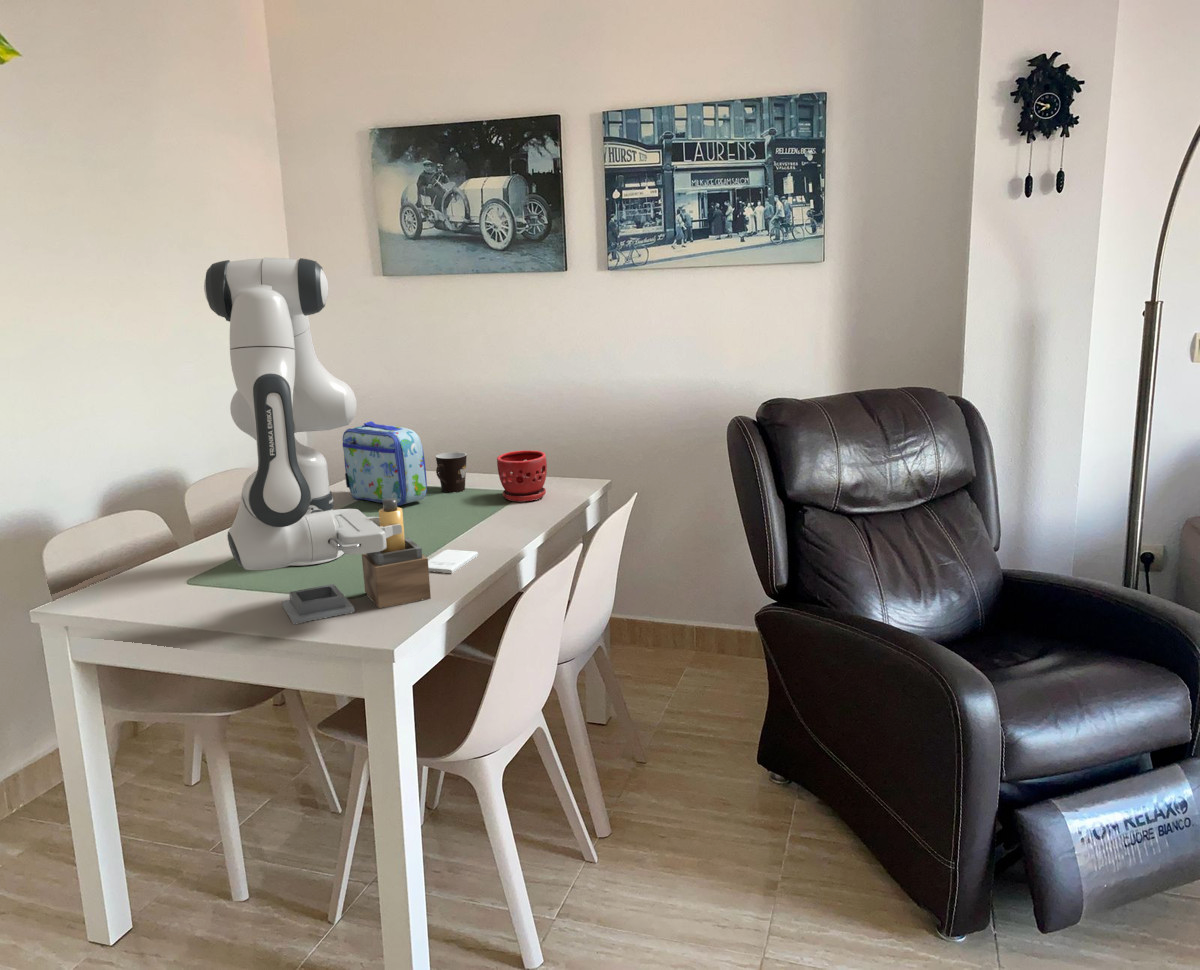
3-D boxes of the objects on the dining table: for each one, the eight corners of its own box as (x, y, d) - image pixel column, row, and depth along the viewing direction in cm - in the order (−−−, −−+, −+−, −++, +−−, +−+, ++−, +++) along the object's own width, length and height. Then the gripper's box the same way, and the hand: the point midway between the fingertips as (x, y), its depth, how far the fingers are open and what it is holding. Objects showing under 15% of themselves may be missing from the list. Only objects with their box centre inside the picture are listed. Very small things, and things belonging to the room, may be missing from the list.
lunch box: (341, 497, 267) (334, 423, 262) (373, 490, 275) (367, 417, 270) (399, 511, 250) (392, 432, 245) (432, 503, 258) (426, 425, 253)
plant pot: (502, 493, 267) (500, 450, 264) (550, 492, 266) (548, 449, 263) (496, 505, 254) (493, 460, 251) (545, 504, 253) (543, 459, 250)
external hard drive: (478, 558, 211) (452, 576, 199) (445, 556, 213) (417, 573, 202) (478, 551, 210) (451, 569, 199) (444, 549, 213) (416, 566, 202)
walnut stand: (365, 593, 189) (360, 544, 187) (414, 583, 194) (410, 536, 191) (379, 608, 181) (374, 557, 178) (430, 598, 185) (426, 548, 183)
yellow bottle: (379, 554, 186) (375, 499, 184) (401, 550, 188) (397, 495, 186) (386, 560, 183) (381, 504, 180) (408, 556, 185) (404, 500, 182)
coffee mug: (457, 485, 278) (455, 450, 275) (474, 489, 271) (472, 454, 269) (422, 492, 270) (420, 457, 268) (440, 497, 264) (437, 461, 262)
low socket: (282, 606, 183) (280, 591, 183) (340, 595, 188) (338, 580, 188) (294, 624, 174) (292, 608, 173) (354, 612, 179) (353, 597, 178)
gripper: (334, 532, 168) (411, 520, 175) (309, 507, 186) (380, 497, 192) (338, 567, 170) (414, 554, 176) (312, 539, 187) (382, 528, 194)
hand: (396, 524), depth 184 cm, fingers closed on yellow bottle, 4 cm apart
